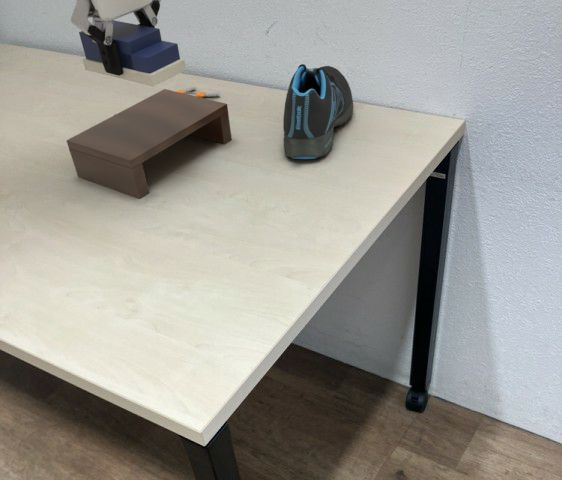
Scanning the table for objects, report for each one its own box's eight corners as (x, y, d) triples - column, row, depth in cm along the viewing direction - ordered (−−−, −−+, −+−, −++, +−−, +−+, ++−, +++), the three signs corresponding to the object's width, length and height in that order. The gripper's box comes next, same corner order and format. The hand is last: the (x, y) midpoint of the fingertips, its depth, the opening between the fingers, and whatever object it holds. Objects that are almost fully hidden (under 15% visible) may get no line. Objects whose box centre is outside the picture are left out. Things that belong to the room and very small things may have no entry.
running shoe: (357, 95, 112) (359, 31, 104) (341, 165, 94) (341, 93, 86) (305, 95, 114) (303, 31, 106) (280, 163, 96) (274, 93, 88)
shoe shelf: (140, 198, 91) (130, 161, 87) (78, 176, 97) (66, 140, 93) (231, 139, 103) (227, 103, 98) (171, 123, 109) (164, 88, 105)
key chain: (158, 113, 112) (157, 109, 111) (146, 100, 116) (145, 96, 116) (222, 96, 115) (221, 92, 115) (207, 84, 120) (206, 80, 119)
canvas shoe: (85, 69, 88) (74, 32, 85) (118, 55, 92) (109, 18, 88) (153, 86, 82) (145, 46, 79) (186, 70, 86) (179, 31, 82)
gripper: (128, -106, 80) (157, 41, 93) (20, -79, 71) (69, 81, 84) (169, -104, 77) (193, 49, 89) (62, -75, 67) (106, 91, 80)
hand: (133, 63), depth 86 cm, fingers closed on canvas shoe, 6 cm apart
